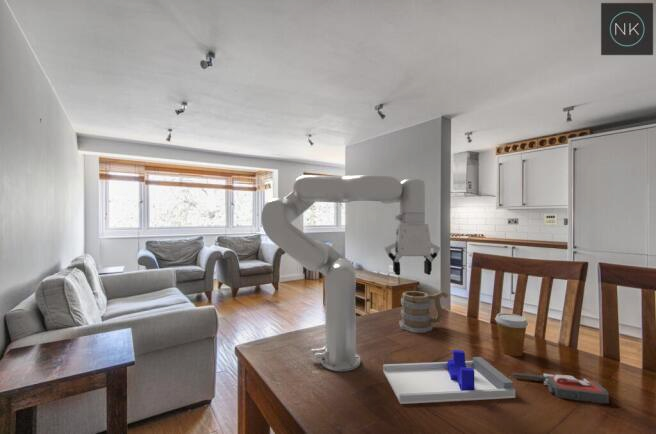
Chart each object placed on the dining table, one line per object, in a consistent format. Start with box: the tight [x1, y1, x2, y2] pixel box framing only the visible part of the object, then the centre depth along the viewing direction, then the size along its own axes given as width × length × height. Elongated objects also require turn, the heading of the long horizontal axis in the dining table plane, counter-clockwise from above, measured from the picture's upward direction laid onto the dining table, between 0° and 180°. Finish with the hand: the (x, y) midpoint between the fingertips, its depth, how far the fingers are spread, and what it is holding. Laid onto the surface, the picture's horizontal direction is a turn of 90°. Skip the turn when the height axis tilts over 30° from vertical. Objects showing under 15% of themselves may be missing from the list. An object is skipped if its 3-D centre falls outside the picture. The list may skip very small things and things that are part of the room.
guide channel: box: [382, 356, 516, 405], centre depth 81 cm, size 30×16×4 cm, turn 95°
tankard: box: [398, 290, 449, 334], centre depth 124 cm, size 20×13×15 cm, turn 88°
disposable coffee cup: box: [494, 312, 529, 357], centre depth 101 cm, size 10×10×12 cm
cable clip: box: [446, 349, 474, 391], centre depth 82 cm, size 12×4×6 cm, turn 167°
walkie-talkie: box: [512, 372, 610, 405], centre depth 79 cm, size 9×4×20 cm
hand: (412, 274), depth 92 cm, fingers open, 9 cm apart
